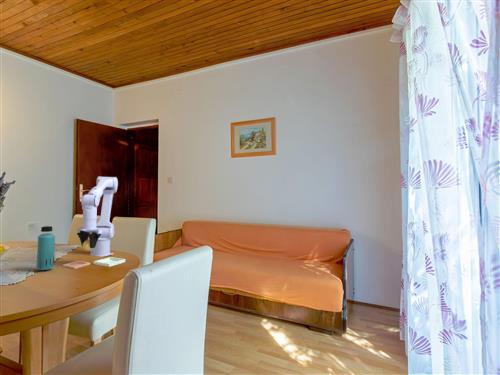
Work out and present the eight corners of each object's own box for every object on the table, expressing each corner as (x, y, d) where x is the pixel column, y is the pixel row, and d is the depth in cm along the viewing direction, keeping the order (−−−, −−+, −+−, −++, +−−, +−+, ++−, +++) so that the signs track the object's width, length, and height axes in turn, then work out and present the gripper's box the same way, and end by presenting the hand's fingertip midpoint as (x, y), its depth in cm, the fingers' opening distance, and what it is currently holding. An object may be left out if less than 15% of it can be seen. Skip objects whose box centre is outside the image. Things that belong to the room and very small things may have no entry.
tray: (93, 265, 133) (93, 261, 133) (110, 260, 142) (110, 256, 142) (109, 267, 129) (109, 264, 129) (125, 262, 139) (125, 259, 139)
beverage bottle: (44, 274, 117) (46, 227, 117) (31, 272, 119) (33, 226, 119) (57, 269, 124) (59, 225, 124) (45, 268, 125) (47, 225, 125)
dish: (62, 267, 127) (62, 264, 127) (78, 263, 135) (78, 260, 135) (74, 269, 125) (74, 267, 125) (90, 265, 132) (90, 262, 132)
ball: (79, 250, 130) (80, 240, 130) (89, 248, 135) (89, 238, 135) (87, 251, 129) (87, 241, 129) (96, 249, 133) (96, 239, 133)
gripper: (71, 218, 131) (70, 247, 131) (93, 221, 126) (92, 250, 126) (84, 217, 137) (83, 244, 137) (106, 219, 132) (105, 247, 132)
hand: (88, 247), depth 132 cm, fingers closed on ball, 5 cm apart
